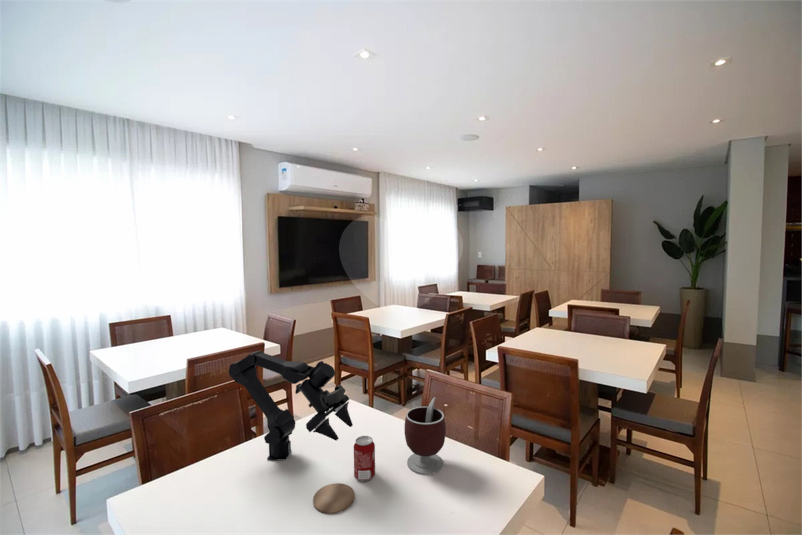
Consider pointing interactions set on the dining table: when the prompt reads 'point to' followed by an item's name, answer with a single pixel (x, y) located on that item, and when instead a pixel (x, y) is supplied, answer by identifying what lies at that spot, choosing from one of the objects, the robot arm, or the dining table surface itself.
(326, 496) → the coaster
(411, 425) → the mate gourd
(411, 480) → the dining table surface
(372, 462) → the soda can
